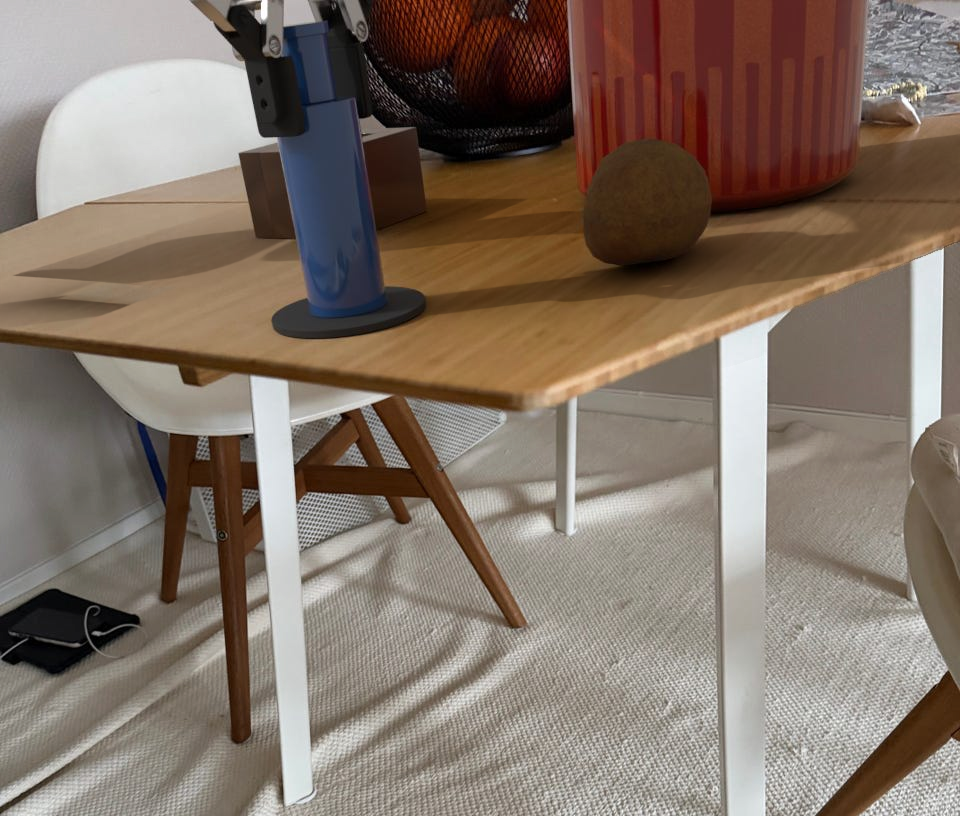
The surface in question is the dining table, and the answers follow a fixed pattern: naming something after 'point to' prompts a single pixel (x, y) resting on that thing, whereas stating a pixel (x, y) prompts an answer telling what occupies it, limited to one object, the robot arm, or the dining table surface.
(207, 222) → the dining table surface
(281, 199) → the holder
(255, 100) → the robot arm
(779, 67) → the planter
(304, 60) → the bottle
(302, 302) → the coaster
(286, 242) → the dining table surface
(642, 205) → the potato
